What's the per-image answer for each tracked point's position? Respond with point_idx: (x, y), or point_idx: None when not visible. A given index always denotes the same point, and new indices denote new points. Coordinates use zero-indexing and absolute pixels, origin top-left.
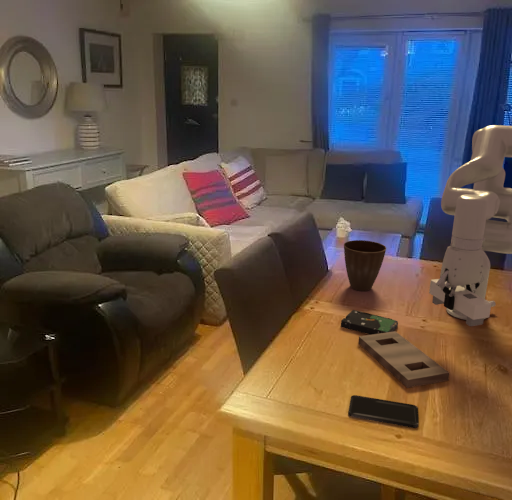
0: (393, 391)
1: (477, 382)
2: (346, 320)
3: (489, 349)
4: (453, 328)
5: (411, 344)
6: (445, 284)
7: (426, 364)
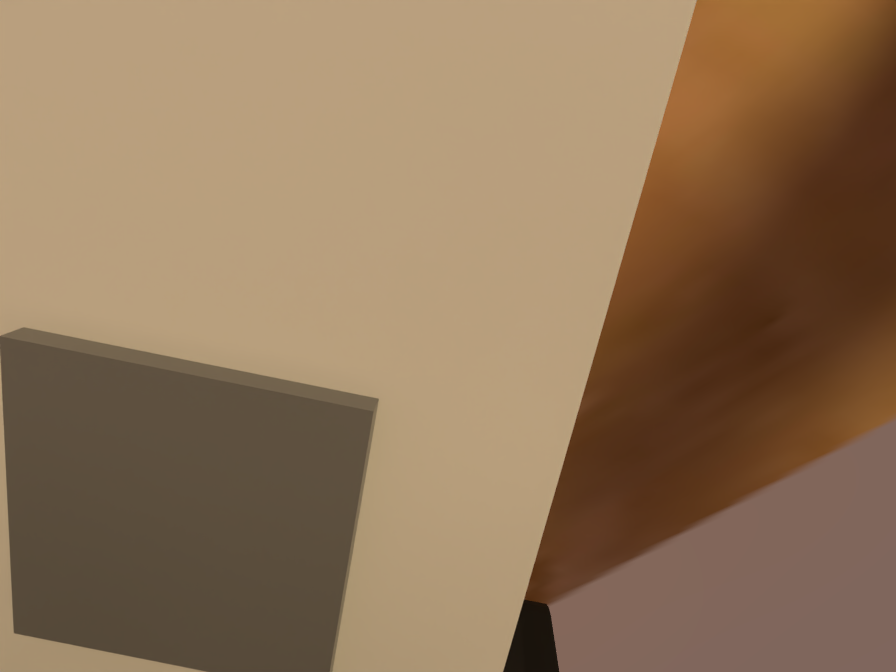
0: None
1: None
2: None
3: (673, 428)
4: (775, 50)
5: None
6: (27, 437)
7: None
